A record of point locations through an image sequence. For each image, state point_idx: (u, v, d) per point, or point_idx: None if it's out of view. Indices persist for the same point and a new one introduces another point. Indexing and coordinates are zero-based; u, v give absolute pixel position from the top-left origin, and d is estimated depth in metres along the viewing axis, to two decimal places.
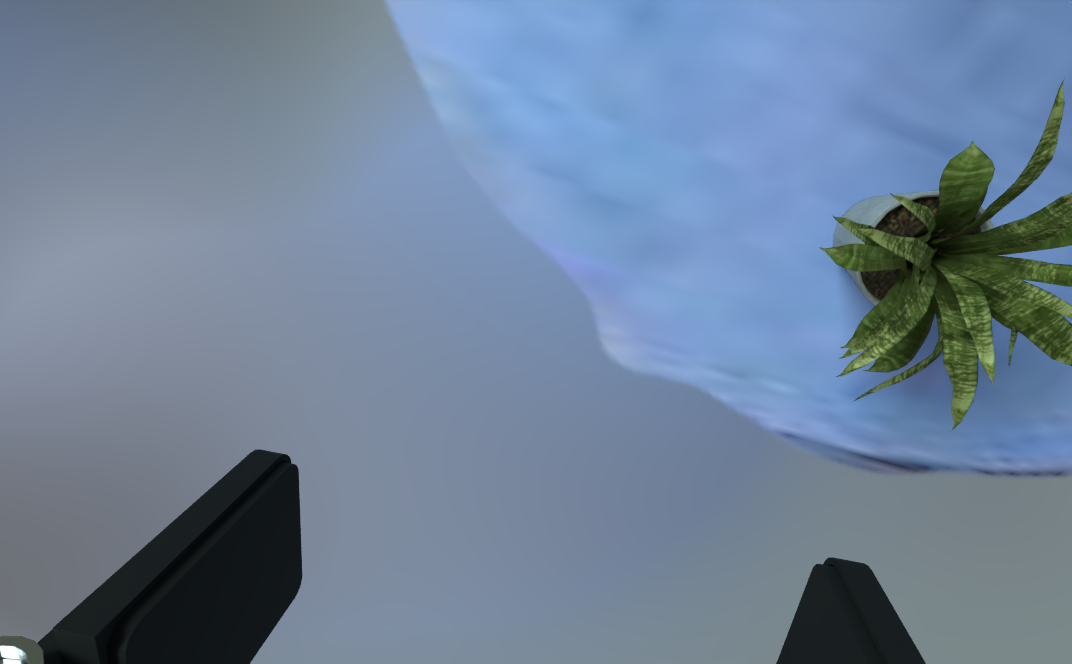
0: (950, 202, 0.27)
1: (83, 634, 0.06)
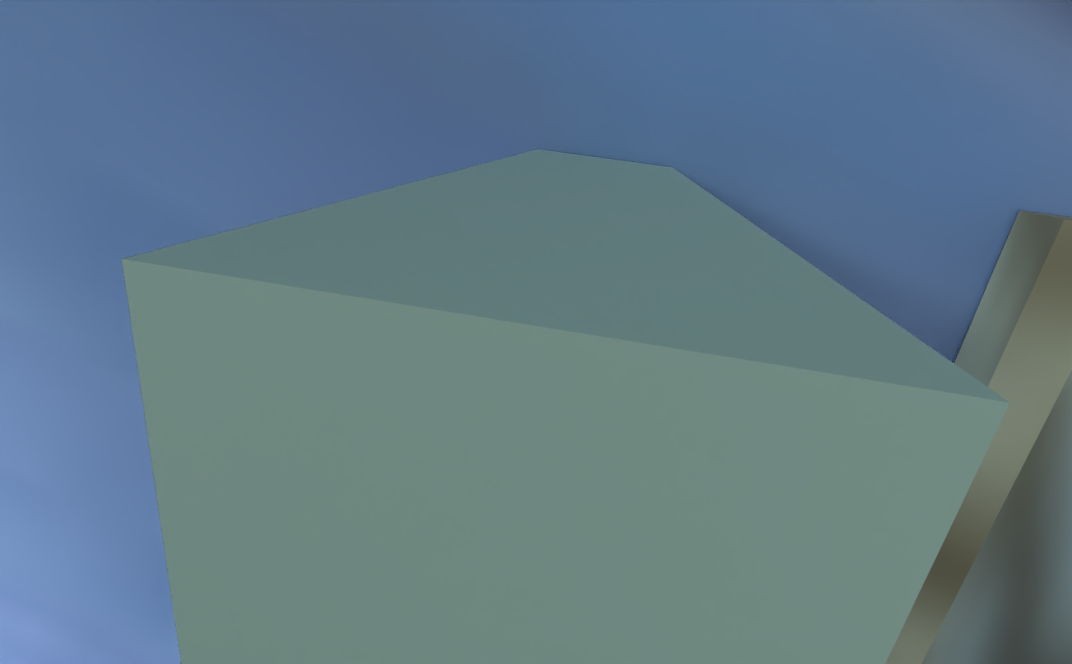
0: None
1: None
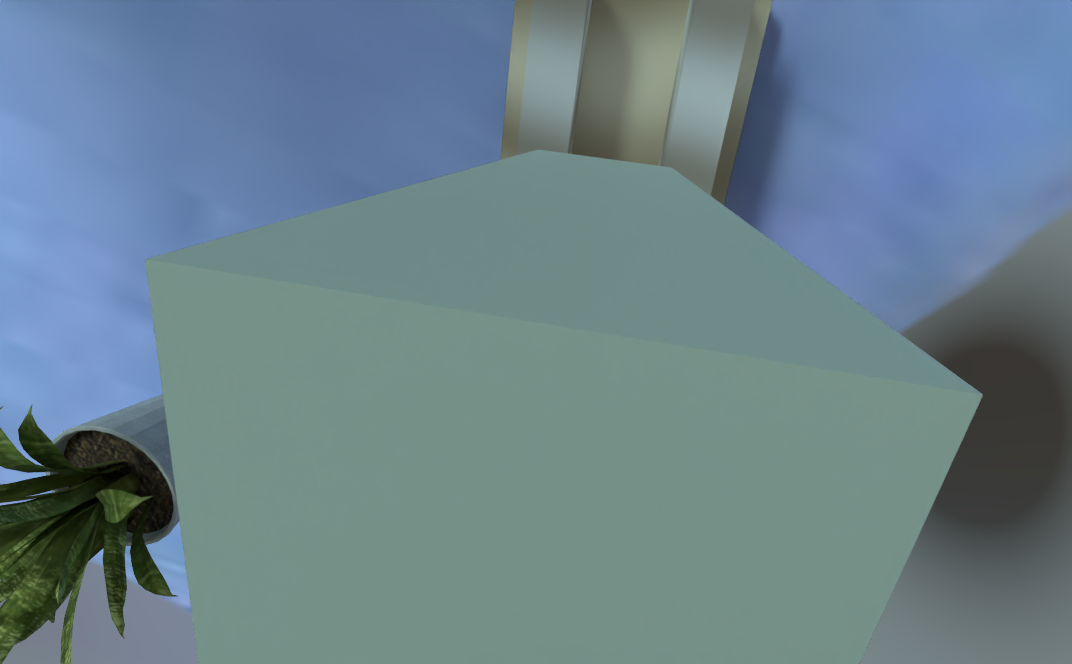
0: (13, 465, 0.24)
1: None
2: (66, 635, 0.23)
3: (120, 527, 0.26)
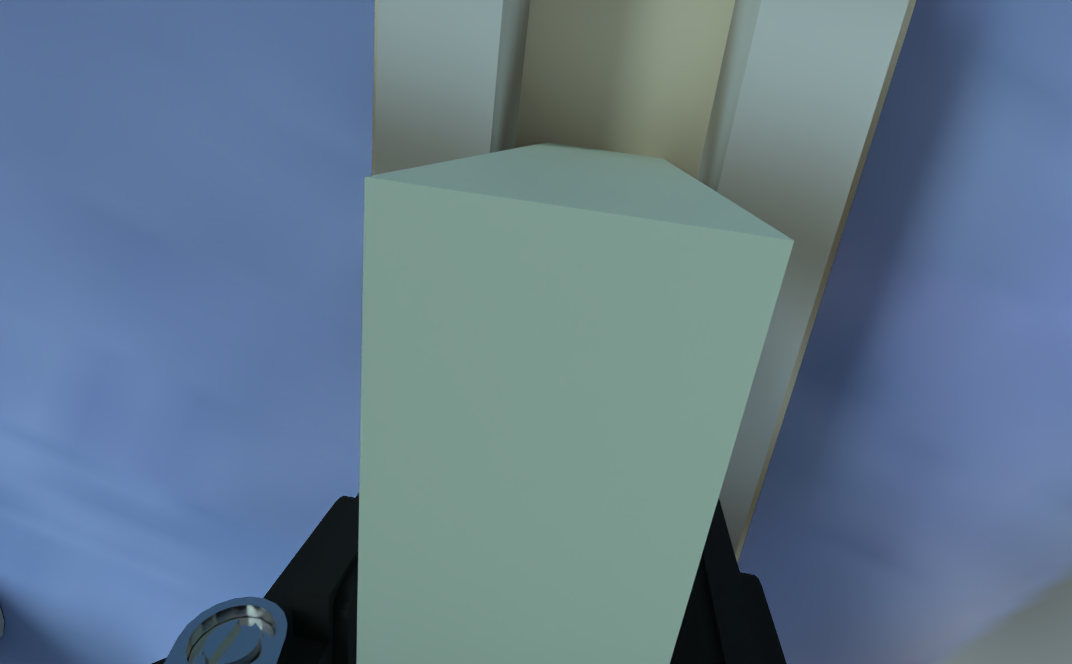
0: None
1: (315, 595, 0.07)
2: None
3: None
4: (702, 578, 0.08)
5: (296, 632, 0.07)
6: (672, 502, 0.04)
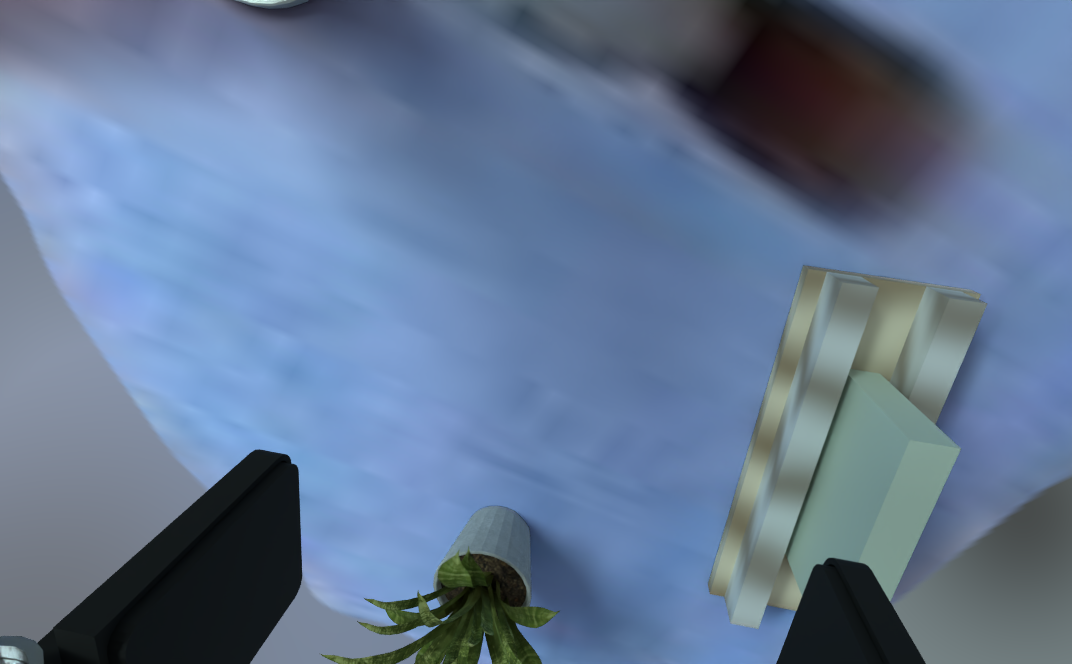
0: (455, 586, 0.36)
1: (83, 634, 0.06)
2: None
3: (507, 623, 0.38)
4: None
5: None
6: (941, 478, 0.28)
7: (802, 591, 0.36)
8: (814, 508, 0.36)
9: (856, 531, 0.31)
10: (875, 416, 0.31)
